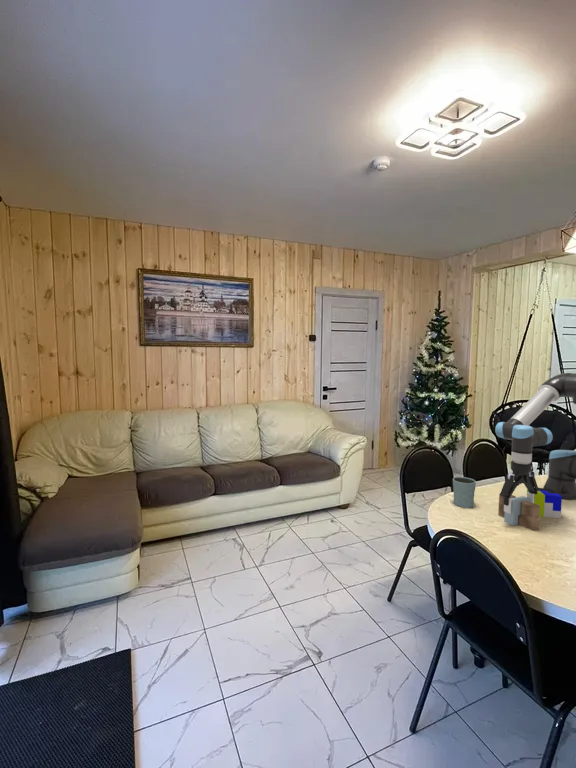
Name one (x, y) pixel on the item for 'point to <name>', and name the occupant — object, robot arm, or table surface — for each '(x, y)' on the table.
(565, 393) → the robot arm
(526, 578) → the table surface
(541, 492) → the puzzle toy
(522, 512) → the walnut upright
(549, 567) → the table surface
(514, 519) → the grey arch block
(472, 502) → the grey cup
